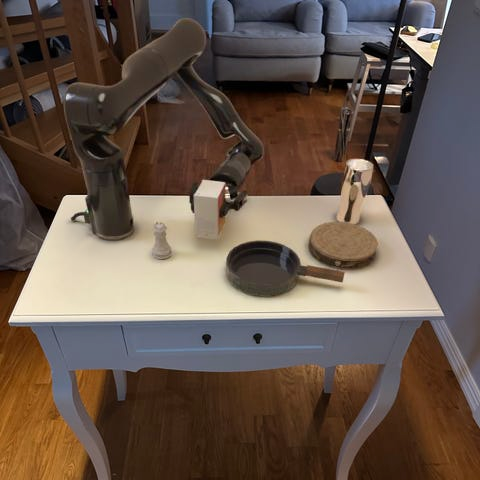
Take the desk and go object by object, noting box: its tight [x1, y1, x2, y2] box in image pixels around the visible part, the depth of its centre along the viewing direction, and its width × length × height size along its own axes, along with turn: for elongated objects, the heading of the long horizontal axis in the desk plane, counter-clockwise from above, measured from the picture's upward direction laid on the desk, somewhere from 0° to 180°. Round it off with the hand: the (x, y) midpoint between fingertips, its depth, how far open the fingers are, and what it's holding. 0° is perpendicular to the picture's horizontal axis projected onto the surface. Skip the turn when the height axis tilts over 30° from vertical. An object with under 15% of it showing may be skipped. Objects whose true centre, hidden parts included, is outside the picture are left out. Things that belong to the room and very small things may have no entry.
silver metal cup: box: [335, 158, 374, 225], centre depth 114 cm, size 7×7×15 cm
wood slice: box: [308, 221, 379, 271], centre depth 107 cm, size 16×16×3 cm
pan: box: [225, 239, 302, 297], centre depth 99 cm, size 16×16×4 cm
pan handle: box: [298, 264, 346, 283], centre depth 96 cm, size 10×2×2 cm, turn 74°
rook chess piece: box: [151, 221, 173, 260], centre depth 102 cm, size 4×4×8 cm
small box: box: [193, 179, 226, 240], centre depth 103 cm, size 8×6×10 cm
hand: (207, 211), depth 101 cm, fingers closed on small box, 6 cm apart
